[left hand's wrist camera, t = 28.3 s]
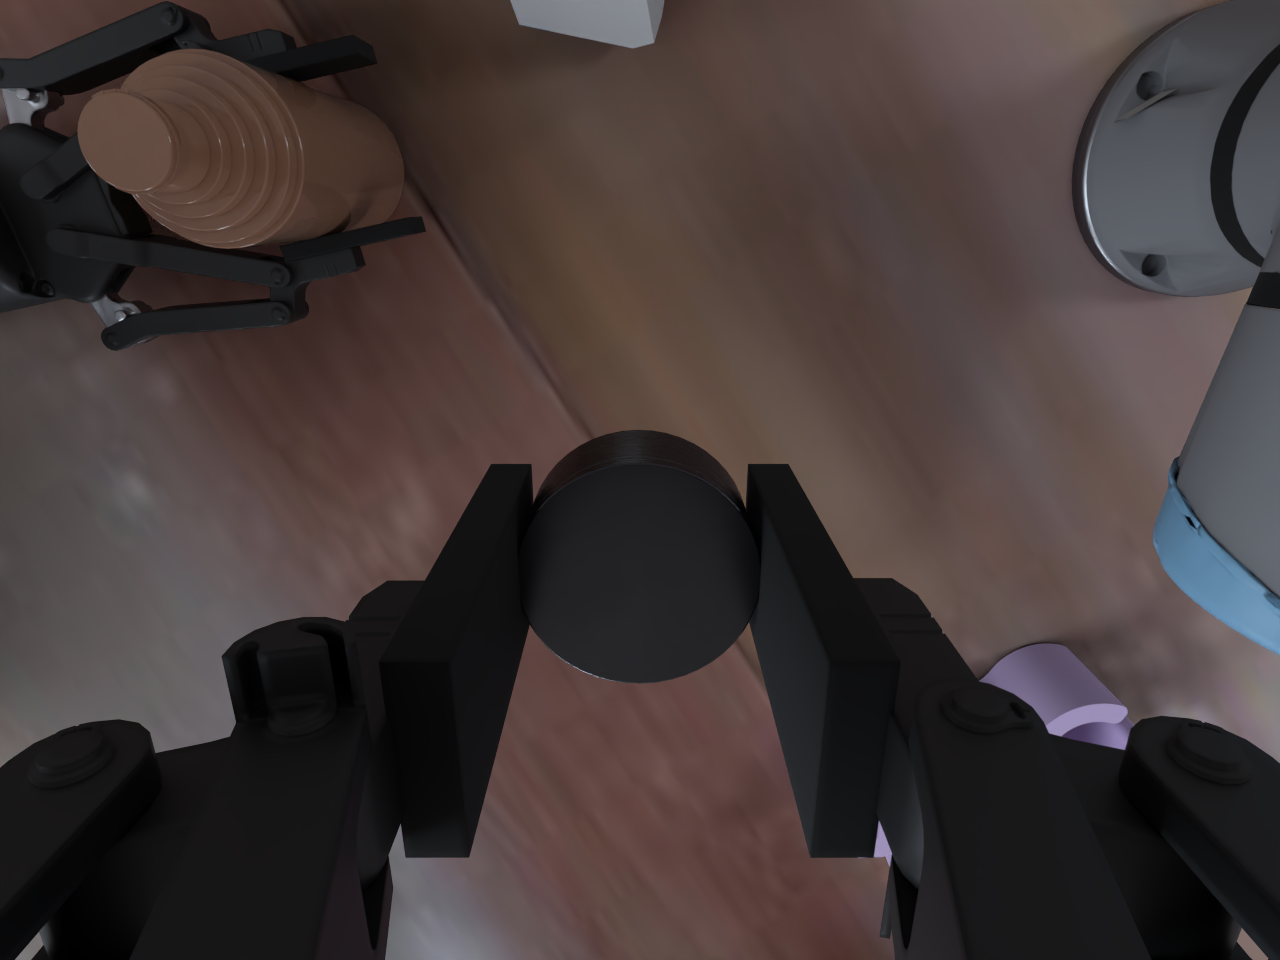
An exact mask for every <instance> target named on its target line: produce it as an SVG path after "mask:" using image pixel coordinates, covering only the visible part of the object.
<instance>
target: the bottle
mask: <svg viewBox="0 0 1280 960" xmlns="http://www.w3.org/2000/svg"><path fill="white" fill-rule="evenodd" d="M91 97H92V98H93V99H91V100H90V101H89V102H88V103H87V104H86V105H85V107H84V108H83V110H82V112H81V114H80V117H79V121H78V129H77V131H78V140H79V145H80V148H81V151H82V153H83V156H84V157H85V159H86V161H87V163H88V164H89V165H90V167H91V168H92V169H93V170H94V172H95V173H96V174H97V175H98V176H99V177H101V178H102V179H103V180H104V181H106V182H107V183H109V184H110V185H112V186H114V187H115V188H116V189H119V190H122V191H124V192H127V193H129V194H132V195H133V197H134V198H135V200H136V201H137V202H138V203H139V204H140V205H141V207H142V208H143V209H144V210H145V211H146V212H147V213H148V214H149V215H151V216H152V217H153V218H154V219H155V220H157V221H158V222H159V223H160V224H162V225H163V226H165V227H166V228H168V229H170V230H171V231H173V232H175V233H177V234H178V235H180V236H182V237H184V238H186V239H188V240H190V241H193V242H195V243H198V244H201V245H204V246H209V247H214V248H224V249H233V248H245V247H253V246H261V245H270V244H278V243H287V242H295V241H303V240H309V239H313V238H318V237H322V236H327V235H331V234H336V233H340V232H345V231H349V230H354V229H358V228H363V227H367V226H372V225H376V224H381V223H383V222H385V221H386V220H387V219H388V218H389V217H390V216H391V214H392V213H393V212H394V210H395V209H396V207H397V205H398V203H399V201H400V198H401V195H402V192H403V187H404V177H405V176H404V164H403V158H402V155H401V151H400V148H399V146H398V144H397V141H396V140H395V138H394V136H393V134H392V133H391V131H390V130H389V128H388V127H387V126H386V124H385V123H384V122H383V121H382V120H381V119H380V118H379V117H378V116H377V115H375V114H374V113H373V112H372V111H370V110H369V109H367V108H366V107H364V106H362V105H360V104H358V103H356V102H353V101H350V100H348V99H345V98H342V97H339V96H337V95H334V94H331V93H328V92H326V91H323V90H320V89H317V88H315V87H312V86H309V85H307V84H304V83H301V82H298V81H296V80H293V79H290V78H287V77H285V76H282V75H279V74H276V73H274V72H271V71H268V70H265V69H263V68H260V67H257V66H255V65H252V64H249V63H246V62H244V61H241V60H238V59H235V58H233V57H230V56H227V55H224V54H221V53H219V52H215V51H210V50H205V49H180V50H176V51H171V52H167V53H165V54H163V55H160V56H158V57H155V58H153V59H151V60H148V61H147V62H145V63H144V64H142V65H140V66H139V67H138V68H137V69H136V70H134V71H133V72H132V73H131V74H130V75H129V77H128V78H127V79H126V80H125V81H124V83H123V84H122V86H121V88H120V89H108V90H102V91H100V92H98V93H96V94H94V95H92V96H91Z"/></svg>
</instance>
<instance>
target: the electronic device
mask: <svg viewBox="0 0 1280 960" xmlns="http://www.w3.org/2000/svg"><path fill="white" fill-rule="evenodd" d="M510 1H511V4H512V6H513V9H514V12H515V14H516V17H517V20H518V23H519V25H523V26H528V27H533V28H537V29H542V30H547V31H552V32H557V33H561V34H566V35H571V36H576V37H581V38H585V39H590V40H595V41H600V42H605V43H609V44H614V45H619V46H624V47H629V48H637V47H640V46H644V45H648V44H652V43H654V42H655V38H656V35H657V31H658V28H659V25H660V21H661V18H662V13H663V7H664V1H665V0H510Z"/></svg>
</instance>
